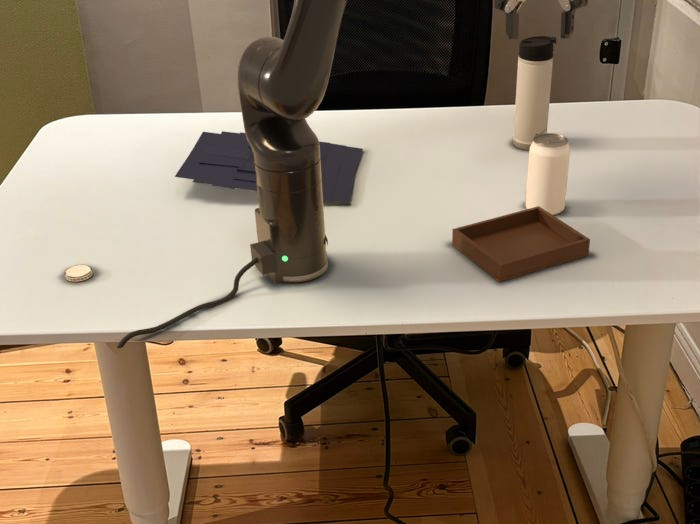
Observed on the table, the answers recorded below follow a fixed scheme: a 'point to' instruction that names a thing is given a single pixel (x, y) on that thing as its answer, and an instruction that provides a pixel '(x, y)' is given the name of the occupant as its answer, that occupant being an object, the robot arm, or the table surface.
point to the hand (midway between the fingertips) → (539, 38)
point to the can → (548, 172)
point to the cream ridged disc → (78, 273)
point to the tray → (520, 243)
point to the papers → (239, 171)
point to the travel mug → (533, 89)
